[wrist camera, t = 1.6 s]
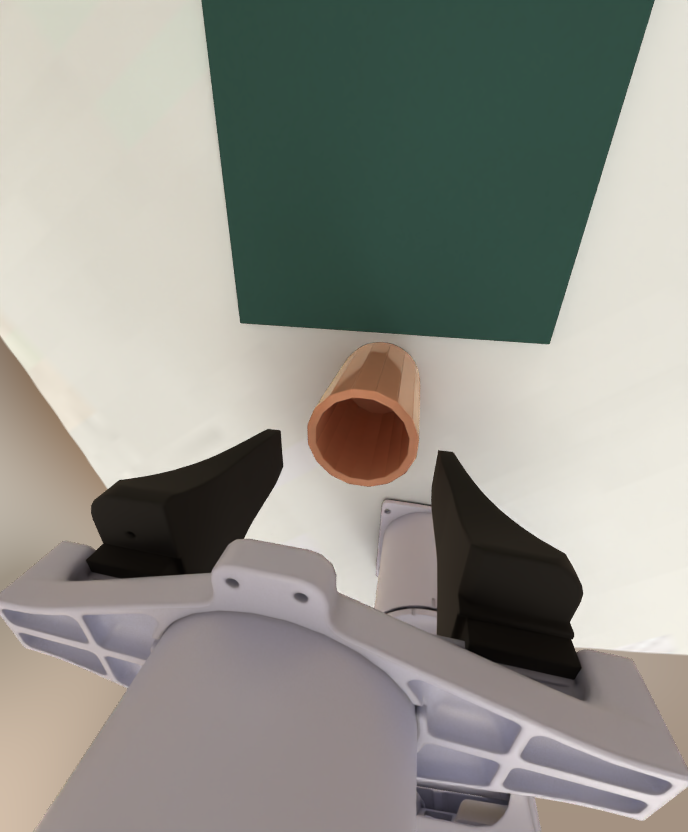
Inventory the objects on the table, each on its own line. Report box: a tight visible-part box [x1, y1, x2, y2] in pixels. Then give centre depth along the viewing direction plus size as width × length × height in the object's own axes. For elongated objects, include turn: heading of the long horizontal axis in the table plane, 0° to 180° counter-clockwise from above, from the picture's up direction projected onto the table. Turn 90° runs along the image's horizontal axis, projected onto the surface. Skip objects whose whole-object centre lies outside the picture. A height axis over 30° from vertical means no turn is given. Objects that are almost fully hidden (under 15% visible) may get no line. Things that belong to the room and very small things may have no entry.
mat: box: [202, 0, 655, 344], centre depth 17 cm, size 20×20×1 cm
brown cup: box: [307, 342, 420, 487], centre depth 20 cm, size 6×6×8 cm
